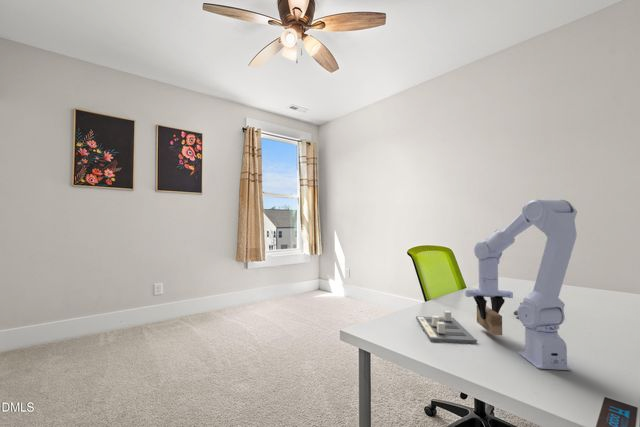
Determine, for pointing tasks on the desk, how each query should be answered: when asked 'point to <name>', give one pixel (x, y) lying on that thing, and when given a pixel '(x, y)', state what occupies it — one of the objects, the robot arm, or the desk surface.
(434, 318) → the tab
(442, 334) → the switch board
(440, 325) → the beige small block
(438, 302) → the desk surface
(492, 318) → the pusher bar
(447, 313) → the tab
